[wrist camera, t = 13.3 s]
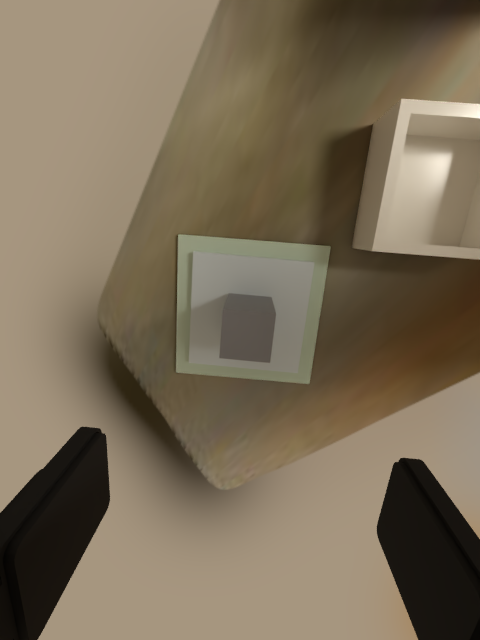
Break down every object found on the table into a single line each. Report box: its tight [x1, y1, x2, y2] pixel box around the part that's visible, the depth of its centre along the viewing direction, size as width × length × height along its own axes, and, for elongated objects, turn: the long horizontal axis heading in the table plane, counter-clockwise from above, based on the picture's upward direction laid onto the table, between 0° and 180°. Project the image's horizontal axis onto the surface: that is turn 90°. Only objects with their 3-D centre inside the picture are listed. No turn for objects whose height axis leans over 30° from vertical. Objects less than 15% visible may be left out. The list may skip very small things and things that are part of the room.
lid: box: [189, 251, 314, 373], centre depth 26 cm, size 11×11×7 cm
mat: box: [176, 234, 331, 384], centre depth 30 cm, size 14×14×1 cm
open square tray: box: [352, 99, 480, 260], centre depth 24 cm, size 10×10×5 cm
